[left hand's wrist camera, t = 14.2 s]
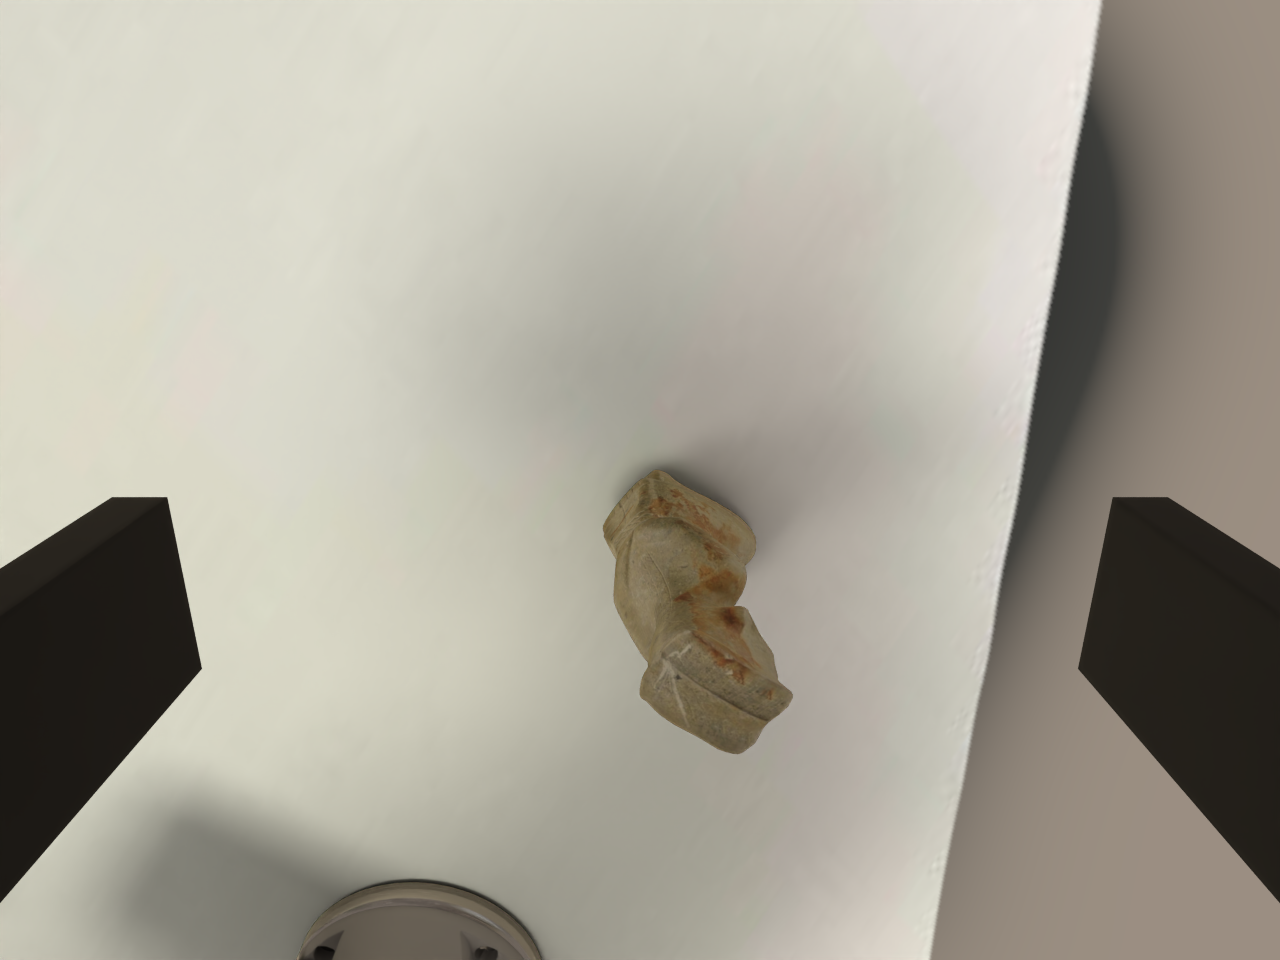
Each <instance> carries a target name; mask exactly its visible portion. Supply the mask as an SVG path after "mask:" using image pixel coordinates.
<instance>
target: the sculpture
mask: <svg viewBox="0 0 1280 960" xmlns="http://www.w3.org/2000/svg"><path fill="white" fill-rule="evenodd" d="M603 531H604V538H605V540H606V542H607V544H608V546H609V548H610V550H611V551H612V553H613V555H614V557H615V558H616V559H617V561H616V569H615V581H614V603H615V606H616V609H617V611H618V613H619V615H620V617H621V619H622V621H623V623H624V625H625V627H626V629H627V630H628V632H629V634H630V636H631V638H632V639H633V641H634V643H635V645H636V646H637V648H638V650H639V651H640V653H641V654H642V656H643V657H644V658H645V659H646V661H647V662H648V668H647V670H646V671H645V673H644V675H643V678H642V680H641V685H640V696H641V698H642V699H644V700H645V701H647V702H648V703H649V704H650V705H651V707H652V708H653V709H654V710H655V711H656V712H658V713H659V714H660V715H661V716H662V717H664V718H665V719H667V720H668V721H670V722H671V723H673V724H674V725H676V726H678V727H680V728H682V729H684V730H686V731H687V732H689V733H691V734H693V735H695V736H697V737H699V738H700V739H702V740H704V741H705V742H707V743H709V744H710V745H712V746H714V747H715V748H717V749H719V750H722V751H725V752H729V753H733V754H740V753H742V752H744V751H745V750H747V749H748V748H749V747H751V746H752V745H753V744H754V743H755V742H756V741H757V739H758V737H759V735H760V733H761V731H762V729H763V728H764V727H765V725H766V724H767V723H768V722H770V721H771V720H772V719H774V718H775V717H776V716H778V715H779V714H780V713H781V712H782V711H783V710H785V709H786V708H787V707H788V705H789V704H790V702H791V700H792V698H793V694H792V693H791V691H789V690H788V689H787V688H786V687H785V686H783V685H782V684H781V683H780V682H779V681H778V675H777V671H776V667H775V664H774V655H773V653H772V651H771V650H770V648H769V647H768V645H767V644H766V642H765V641H764V640H763V638H762V637H761V635H760V634H759V632H758V630H757V628H756V626H755V624H754V622H753V620H752V617H751V615H750V613H749V611H748V610H747V609H746V608H745V607H742V606H734V605H735V604H736V602H737V600H738V599H739V597H740V596H741V594H742V592H743V590H744V587H745V584H746V578H747V575H746V569H745V565H746V564H747V563H748V562H749V561H750V560H751V559H752V557H753V556H754V554H755V550H756V539H755V536H754V534H753V532H752V530H751V529H750V528H749V526H748V525H747V524H746V523H745V522H744V521H743V520H742V519H741V518H740V517H739V516H737V515H736V514H735V513H733V512H732V511H730V510H729V509H727V508H725V507H724V506H722V505H720V504H718V503H717V502H715V501H713V500H711V499H709V498H707V497H705V496H703V495H701V494H699V493H697V492H695V491H693V490H691V489H689V488H687V487H685V486H683V485H682V484H680V483H679V482H677V481H676V480H674V479H673V478H672V477H671V476H670V475H669V474H667V473H665V472H663V471H660V470H654V471H652V472H651V473H650V474H649V475H648V476H646V477H645V478H643V479H641V480H639V481H638V482H637V483H636V484H635V485H634V486H633V487H632V488H631V489H630V490H629V491H628V492H627V493H626V495H625V496H624V497H623V498H622V499H621V500H620V502H619V503H618V504H617V505H616V506H615V508H614V509H613V510H612V512H611V513H610V515H609V516H608V518H607V519H606V521H605V523H604V525H603Z"/></svg>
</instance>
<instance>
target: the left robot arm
mask: <svg viewBox="0 0 1280 960" xmlns="http://www.w3.org/2000/svg"><path fill="white" fill-rule="evenodd" d="M201 669H202V667H201V662H200V657H199V652H198V647H197V642H196V637H195V632H194V627H193V622H192V617H191V612H190V608H189V603H188V598H187V593H186V588H185V583H184V578H183V573H182V568H181V563H180V558H179V553H178V548H177V543H176V538H175V533H174V528H173V523H172V519H171V514H170V509H169V504H168V499H167V497H112V498H110V499H109V500H107V501H105V502H104V503H102V504H101V505H99V506H98V507H96V508H95V509H93V510H91V511H90V512H88V513H87V514H85V515H84V516H82V517H80V518H79V519H77V520H76V521H74V522H73V523H71V524H69V525H68V526H66V527H65V528H63V529H62V530H60V531H59V532H57V533H55V534H54V535H52V536H51V537H49V538H48V539H46V540H44V541H43V542H41V543H40V544H38V545H37V546H35V547H33V548H32V549H30V550H29V551H27V552H26V553H24V554H22V555H21V556H19V557H18V558H16V559H15V560H13V561H12V562H10V563H8V564H7V565H5V566H4V567H2V568H1V569H0V903H1V901H2V900H3V899H4V898H5V897H6V896H7V894H8V893H9V892H10V891H11V890H12V889H13V887H14V886H15V885H16V884H17V883H18V882H19V880H20V879H21V878H22V877H23V876H24V875H25V874H26V872H27V871H28V870H29V869H30V868H31V867H32V865H33V864H34V863H35V862H36V861H37V860H38V858H39V857H40V856H41V855H42V854H43V853H44V851H45V850H46V849H47V848H48V847H49V846H50V844H51V843H52V842H53V841H54V840H55V839H56V838H57V836H58V835H59V834H60V833H61V832H62V831H63V829H64V828H65V827H66V826H67V825H68V824H69V822H70V821H71V820H72V819H73V818H74V817H75V815H76V814H77V813H78V812H79V811H80V810H81V808H82V807H83V806H84V805H85V804H86V803H87V802H88V800H89V799H90V798H91V797H92V796H93V795H94V793H95V792H96V791H97V790H98V789H99V788H100V786H101V785H102V784H103V783H104V782H105V781H106V779H107V778H108V777H109V776H110V775H111V774H112V773H113V771H114V770H115V769H116V768H117V767H118V766H119V764H120V763H121V762H122V761H123V760H124V759H125V757H126V756H127V755H128V754H129V753H130V752H131V750H132V749H133V748H134V747H135V746H136V745H137V743H138V742H139V741H140V740H141V739H142V738H143V737H144V735H145V734H146V733H147V732H148V731H149V730H150V728H151V727H152V726H153V725H154V724H155V723H156V721H157V720H158V719H159V718H160V717H161V716H162V714H163V713H164V712H165V711H166V710H167V709H168V708H169V706H170V705H171V704H172V703H173V702H174V701H175V699H176V698H177V697H178V696H179V695H180V694H181V692H182V691H183V690H184V689H185V688H186V687H187V685H188V684H189V683H190V682H191V681H192V680H193V678H194V677H195V676H196V675H197V674H198V673H199V672H200V670H201ZM1078 669H1079V670H1080V672H1081V673H1082V674H1083V675H1084V676H1085V677H1086V678H1087V680H1088V681H1089V682H1090V683H1091V684H1092V685H1093V687H1094V688H1095V689H1096V690H1097V691H1098V692H1099V694H1100V695H1101V696H1102V697H1103V698H1104V699H1105V701H1106V702H1107V703H1108V704H1109V705H1110V706H1111V707H1112V709H1113V710H1114V711H1115V712H1116V713H1117V714H1118V716H1119V717H1120V718H1121V719H1122V720H1123V721H1124V723H1125V724H1126V725H1127V726H1128V727H1129V728H1130V730H1131V731H1132V732H1133V733H1134V734H1135V735H1136V737H1137V738H1138V739H1139V740H1140V741H1141V742H1142V743H1143V745H1144V746H1145V747H1146V748H1147V749H1148V750H1149V752H1150V753H1151V754H1152V755H1153V756H1154V757H1155V759H1156V760H1157V761H1158V762H1159V763H1160V764H1161V766H1162V767H1163V768H1164V769H1165V770H1166V771H1167V773H1168V774H1169V775H1170V776H1171V777H1172V778H1173V779H1174V781H1175V782H1176V783H1177V784H1178V785H1179V786H1180V788H1181V789H1182V790H1183V791H1184V792H1185V793H1186V795H1187V796H1188V797H1189V798H1190V799H1191V800H1192V802H1193V803H1194V804H1195V805H1196V806H1197V807H1198V809H1199V810H1200V811H1201V812H1202V813H1203V814H1204V815H1205V817H1206V818H1207V819H1208V820H1209V821H1210V822H1211V824H1212V825H1213V826H1214V827H1215V828H1216V829H1217V831H1218V832H1219V833H1220V834H1221V835H1222V836H1223V838H1224V839H1225V840H1226V841H1227V842H1228V843H1229V844H1230V846H1231V847H1232V848H1233V849H1234V850H1235V851H1236V853H1237V854H1238V855H1239V856H1240V857H1241V858H1242V860H1243V861H1244V862H1245V863H1246V864H1247V865H1248V867H1249V868H1250V869H1251V870H1252V871H1253V872H1254V874H1255V875H1256V876H1257V877H1258V878H1259V879H1260V880H1261V882H1262V883H1263V884H1264V885H1265V886H1266V887H1267V889H1268V890H1269V891H1270V892H1271V893H1272V894H1273V896H1274V897H1275V898H1276V899H1277V900H1278V901H1279V903H1280V569H1279V568H1278V567H1276V566H1275V565H1273V564H1272V563H1270V562H1268V561H1267V560H1265V559H1264V558H1262V557H1261V556H1259V555H1258V554H1256V553H1254V552H1253V551H1251V550H1250V549H1248V548H1247V547H1245V546H1243V545H1242V544H1240V543H1239V542H1237V541H1235V540H1234V539H1232V538H1231V537H1229V536H1228V535H1226V534H1225V533H1223V532H1221V531H1220V530H1218V529H1217V528H1215V527H1214V526H1212V525H1211V524H1209V523H1207V522H1206V521H1204V520H1203V519H1201V518H1200V517H1198V516H1196V515H1195V514H1193V513H1192V512H1190V511H1189V510H1187V509H1185V508H1184V507H1182V506H1181V505H1179V504H1178V503H1176V502H1175V501H1173V500H1171V499H1170V498H1168V497H1113V499H1112V504H1111V509H1110V514H1109V519H1108V524H1107V528H1106V533H1105V538H1104V543H1103V548H1102V553H1101V558H1100V563H1099V568H1098V573H1097V578H1096V583H1095V588H1094V593H1093V598H1092V603H1091V608H1090V612H1089V617H1088V622H1087V627H1086V632H1085V637H1084V642H1083V647H1082V652H1081V657H1080V662H1079V667H1078ZM296 960H541V958H540V955H539V952H538V950H537V948H536V946H535V944H534V942H533V941H532V939H531V938H530V936H529V935H528V933H527V932H526V931H525V930H524V929H523V928H522V926H521V925H520V924H519V923H518V922H517V921H516V920H514V919H513V918H512V917H511V916H510V915H509V914H507V913H506V912H505V911H503V910H502V909H500V908H499V907H497V906H496V905H494V904H493V903H491V902H489V901H487V900H485V899H483V898H481V897H479V896H477V895H474V894H472V893H469V892H466V891H463V890H460V889H457V888H453V887H449V886H444V885H439V884H431V883H419V882H404V883H392V884H385V885H380V886H375V887H371V888H368V889H364V890H362V891H359V892H357V893H354V894H352V895H350V896H348V897H346V898H344V899H342V900H340V901H339V902H337V903H336V904H334V905H333V906H331V907H330V908H329V909H328V910H326V911H325V912H324V913H323V914H322V915H321V916H320V917H319V918H318V919H317V921H316V922H315V923H314V924H313V926H312V927H311V929H310V930H309V932H308V934H307V936H306V938H305V940H304V943H303V945H302V947H301V950H300V952H299V954H298V957H297V959H296Z"/></svg>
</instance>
